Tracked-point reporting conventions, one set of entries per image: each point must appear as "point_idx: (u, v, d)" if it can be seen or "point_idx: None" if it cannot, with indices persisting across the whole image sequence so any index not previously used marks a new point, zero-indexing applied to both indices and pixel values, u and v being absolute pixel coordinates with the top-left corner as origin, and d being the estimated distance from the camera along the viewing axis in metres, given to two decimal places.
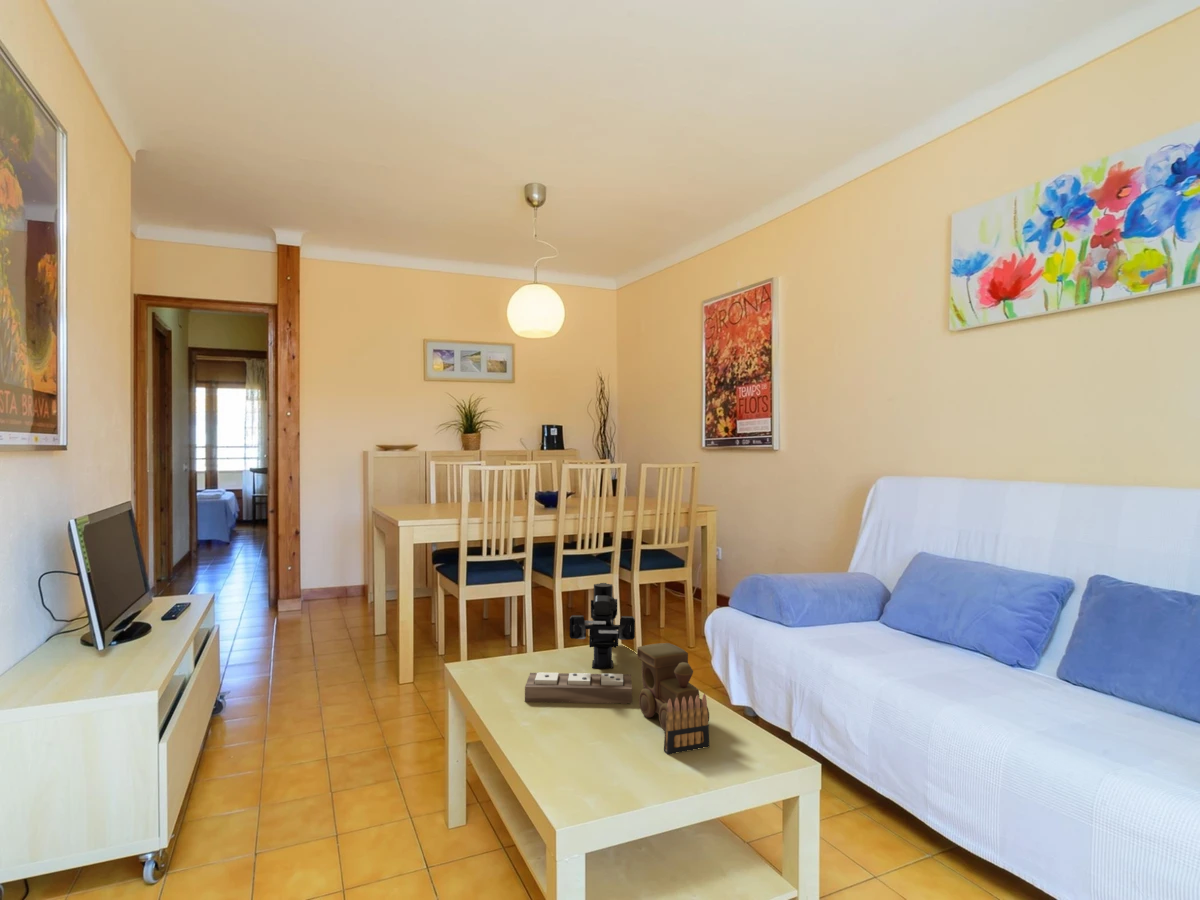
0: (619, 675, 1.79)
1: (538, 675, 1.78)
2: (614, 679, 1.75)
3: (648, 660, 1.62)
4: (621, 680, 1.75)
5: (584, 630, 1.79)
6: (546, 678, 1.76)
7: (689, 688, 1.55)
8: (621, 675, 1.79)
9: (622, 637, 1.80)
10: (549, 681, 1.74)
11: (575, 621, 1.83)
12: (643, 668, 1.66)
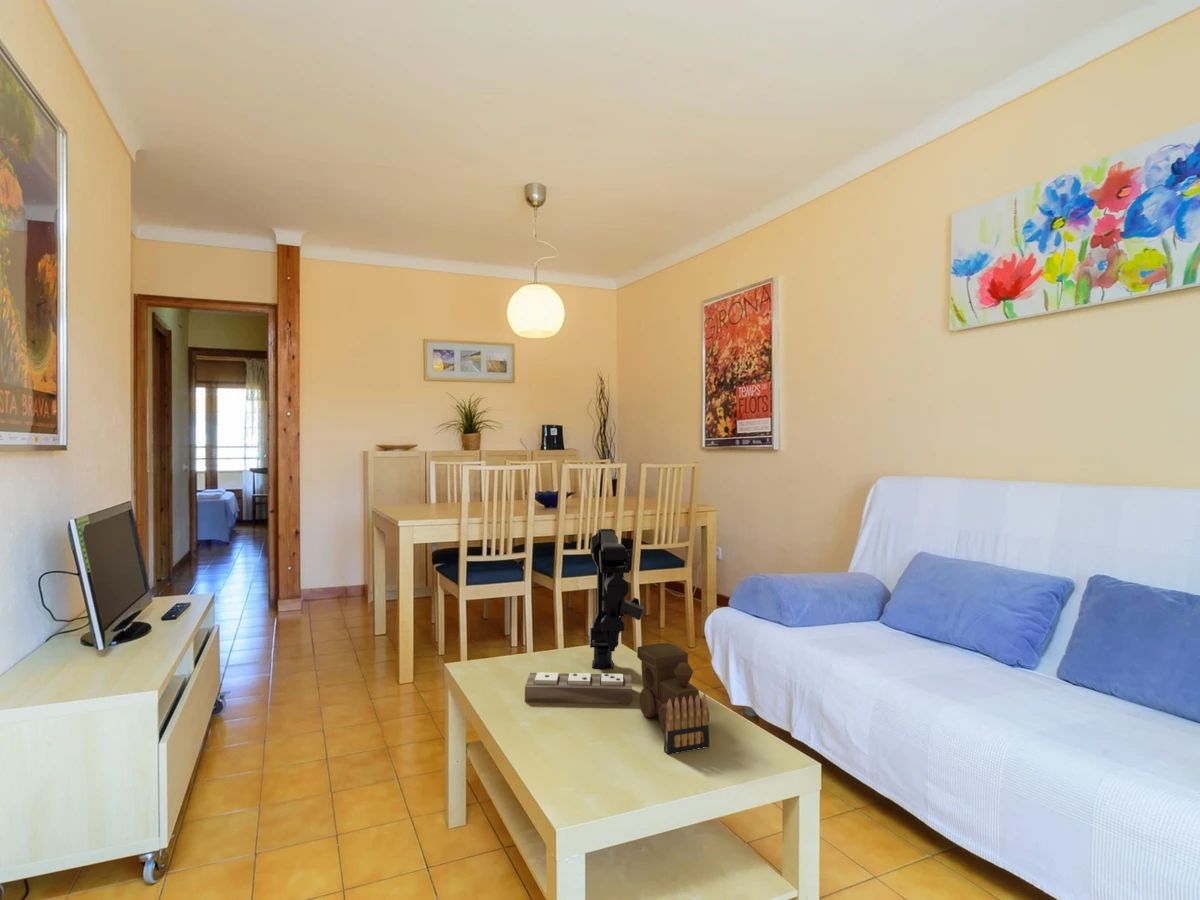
0: (619, 675, 1.79)
1: (538, 675, 1.78)
2: (614, 679, 1.75)
3: (648, 660, 1.62)
4: (621, 680, 1.75)
5: (615, 645, 1.74)
6: (546, 678, 1.76)
7: (689, 688, 1.55)
8: (621, 675, 1.79)
9: None
10: (549, 681, 1.74)
11: None
12: (643, 668, 1.66)
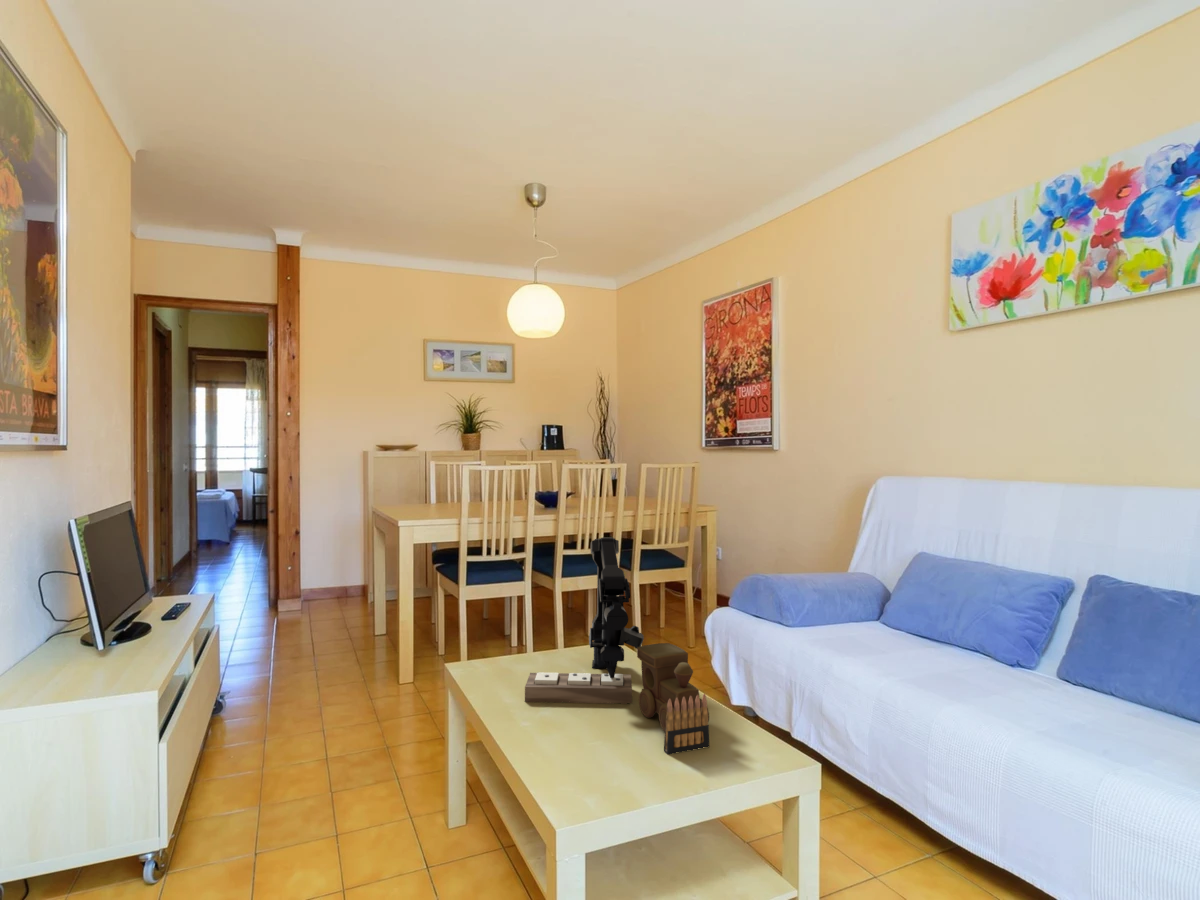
0: (619, 675, 1.79)
1: (538, 675, 1.78)
2: (614, 679, 1.75)
3: (648, 660, 1.62)
4: (621, 680, 1.75)
5: None
6: (546, 678, 1.76)
7: (689, 688, 1.55)
8: (621, 675, 1.79)
9: None
10: (549, 681, 1.74)
11: None
12: (643, 668, 1.66)
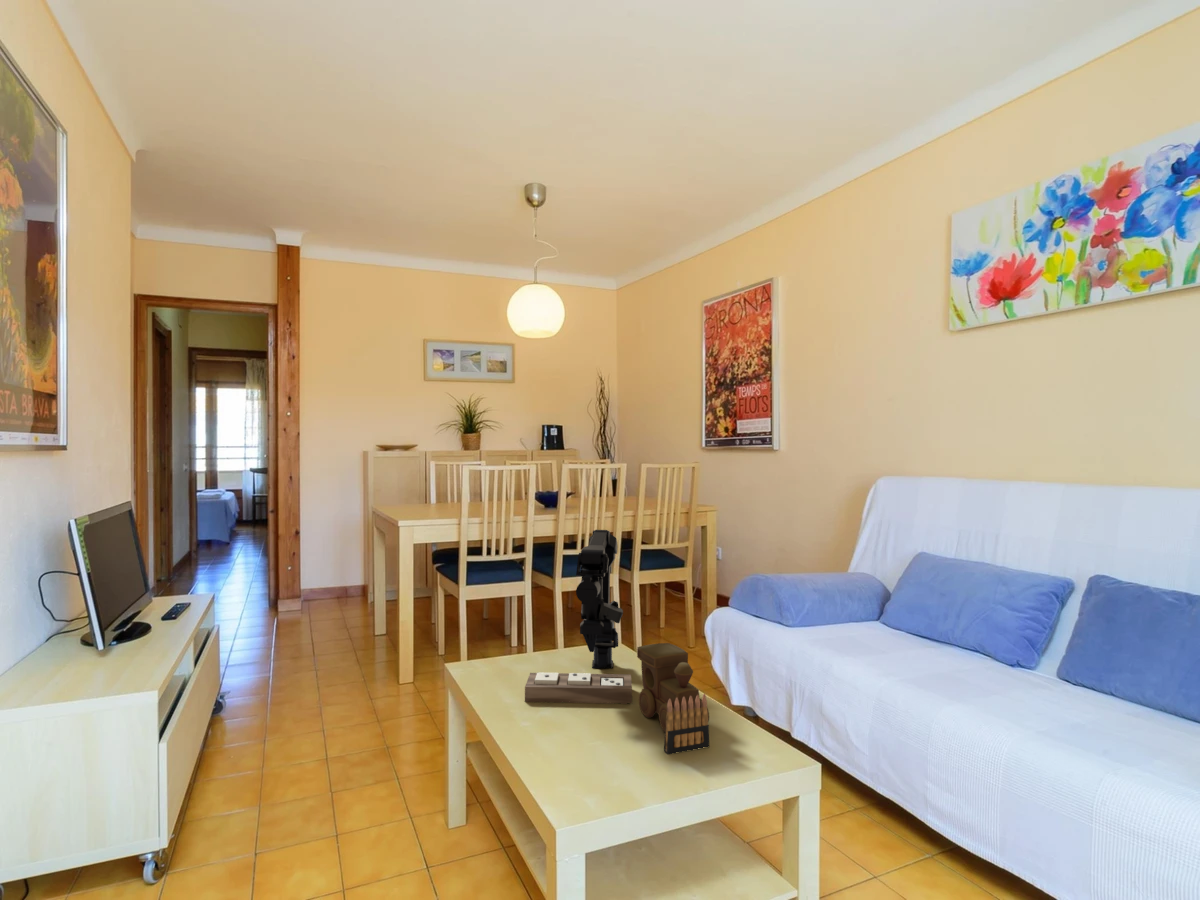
0: (619, 679, 1.79)
1: (538, 675, 1.78)
2: (614, 684, 1.75)
3: (648, 660, 1.62)
4: (621, 685, 1.75)
5: (594, 645, 1.77)
6: (546, 678, 1.76)
7: (689, 688, 1.55)
8: (621, 679, 1.79)
9: None
10: (549, 681, 1.74)
11: None
12: (643, 668, 1.66)
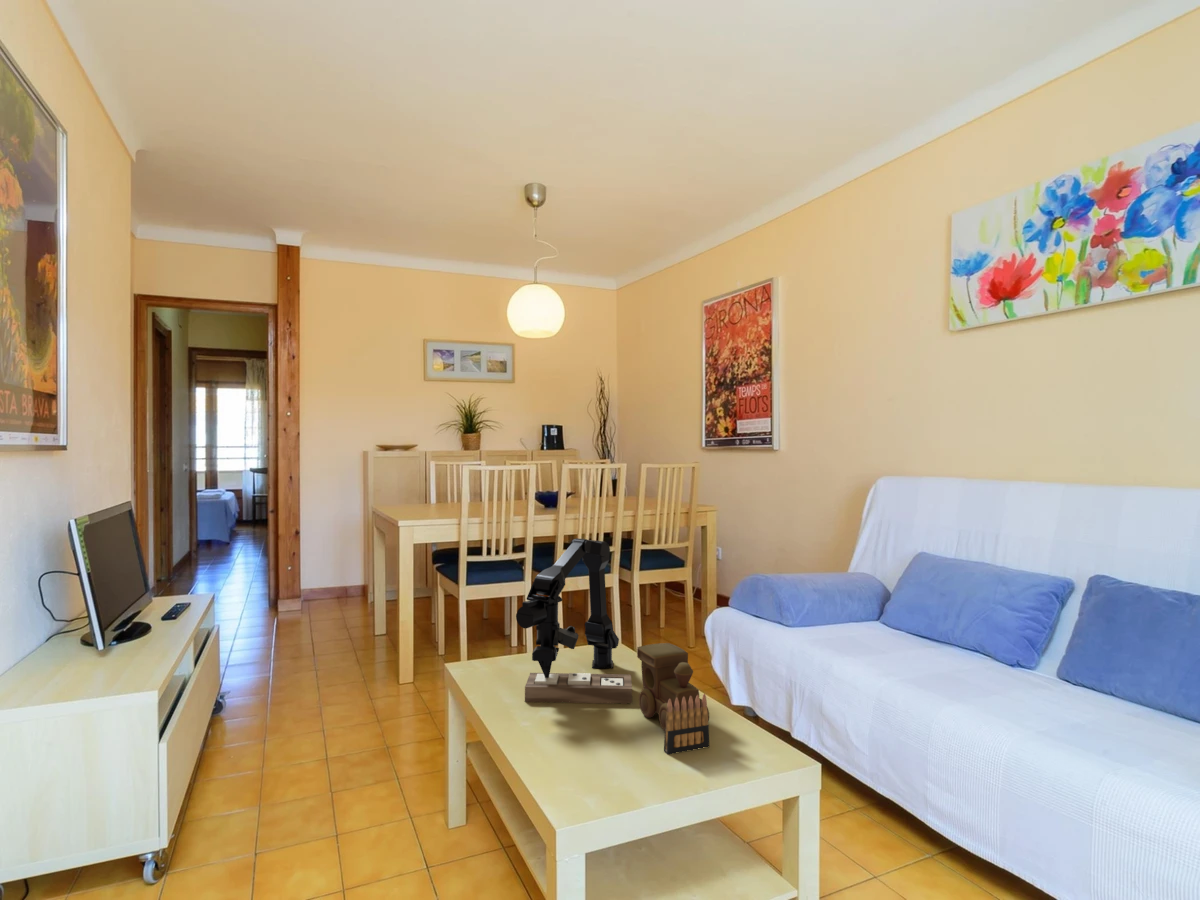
0: (619, 679, 1.79)
1: (538, 676, 1.78)
2: (614, 684, 1.75)
3: (648, 660, 1.62)
4: (621, 685, 1.75)
5: None
6: (546, 679, 1.76)
7: (689, 688, 1.55)
8: (621, 679, 1.79)
9: None
10: (549, 682, 1.74)
11: None
12: (643, 668, 1.66)
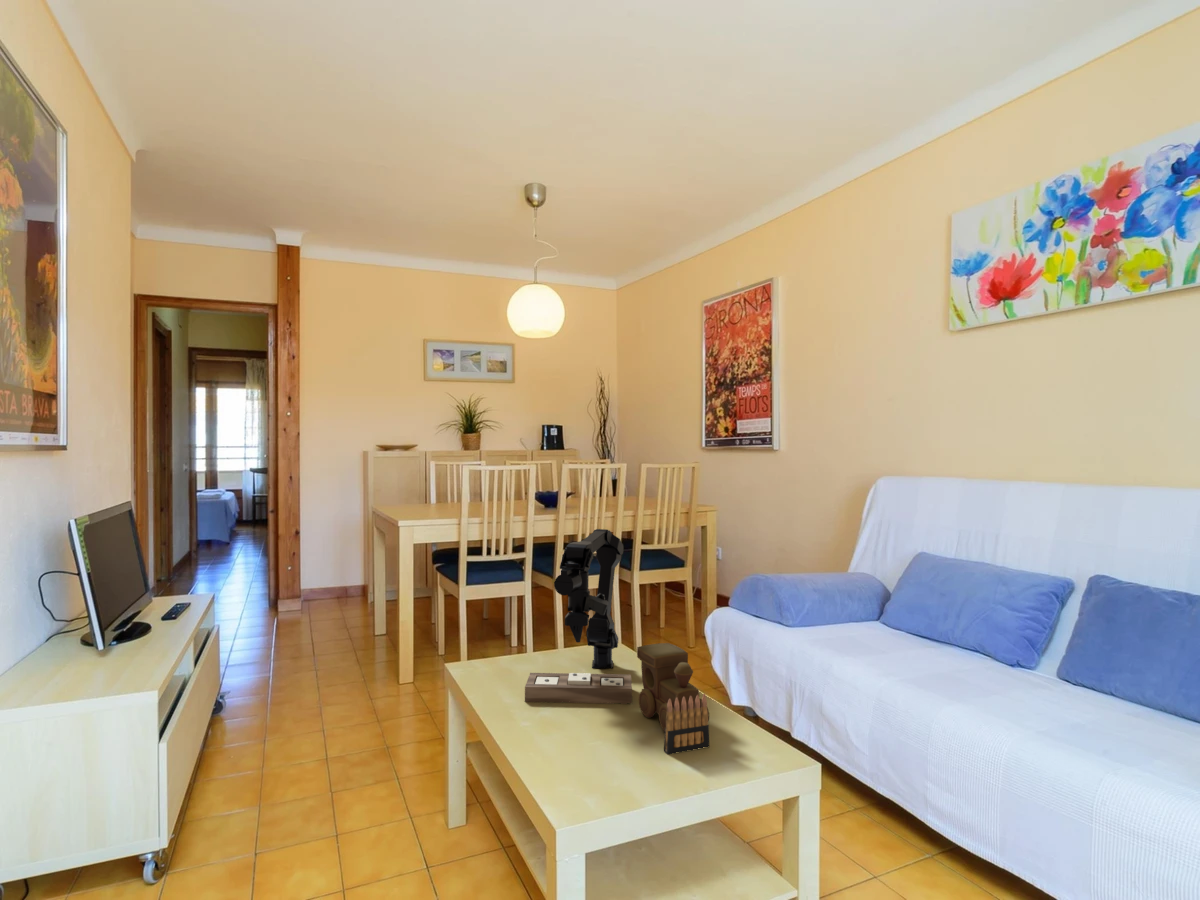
0: (619, 679, 1.79)
1: (538, 679, 1.78)
2: (614, 684, 1.75)
3: (648, 660, 1.62)
4: (621, 685, 1.75)
5: None
6: (546, 683, 1.76)
7: (689, 688, 1.55)
8: (621, 679, 1.79)
9: None
10: None
11: None
12: (643, 668, 1.66)
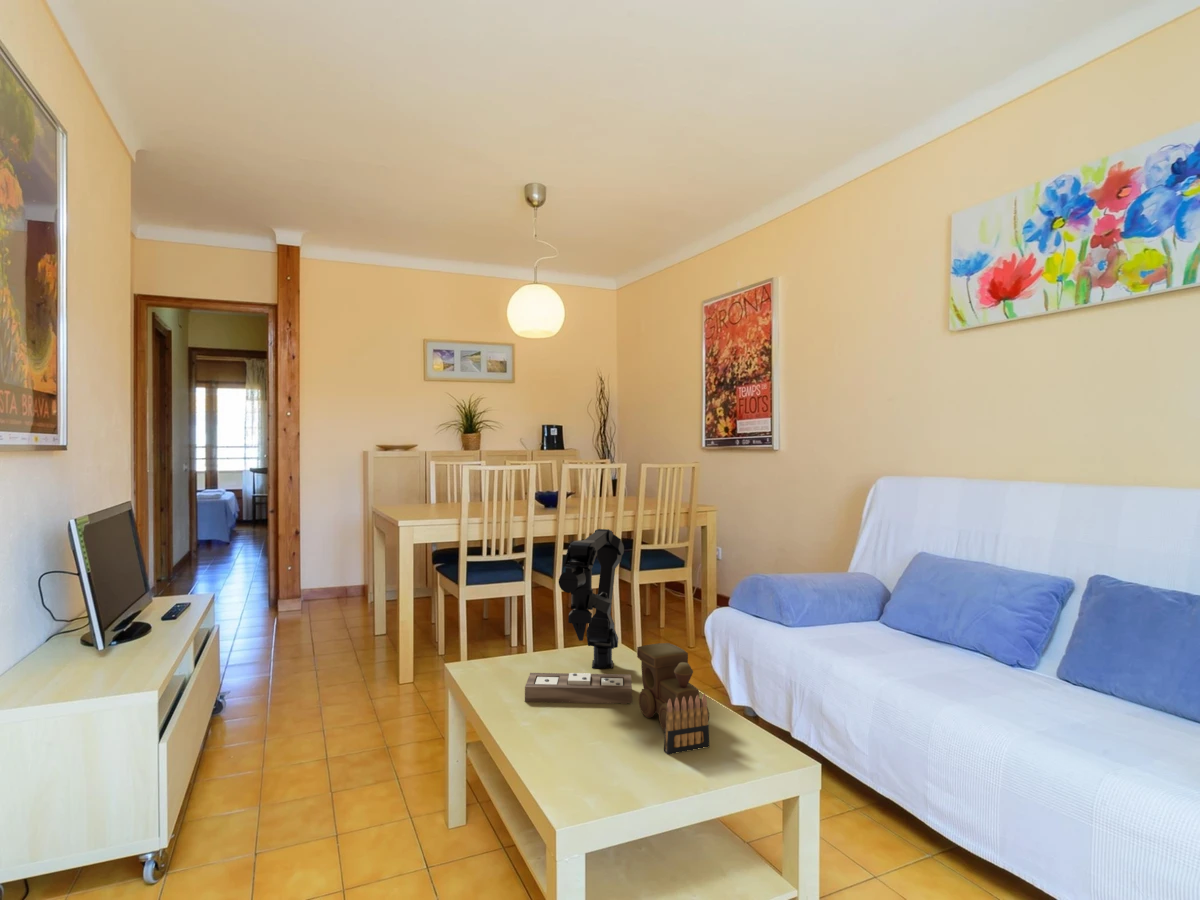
0: (619, 679, 1.79)
1: (538, 679, 1.78)
2: (614, 684, 1.75)
3: (648, 660, 1.62)
4: (621, 685, 1.75)
5: None
6: (546, 683, 1.76)
7: (689, 688, 1.55)
8: (621, 679, 1.79)
9: None
10: None
11: None
12: (643, 668, 1.66)
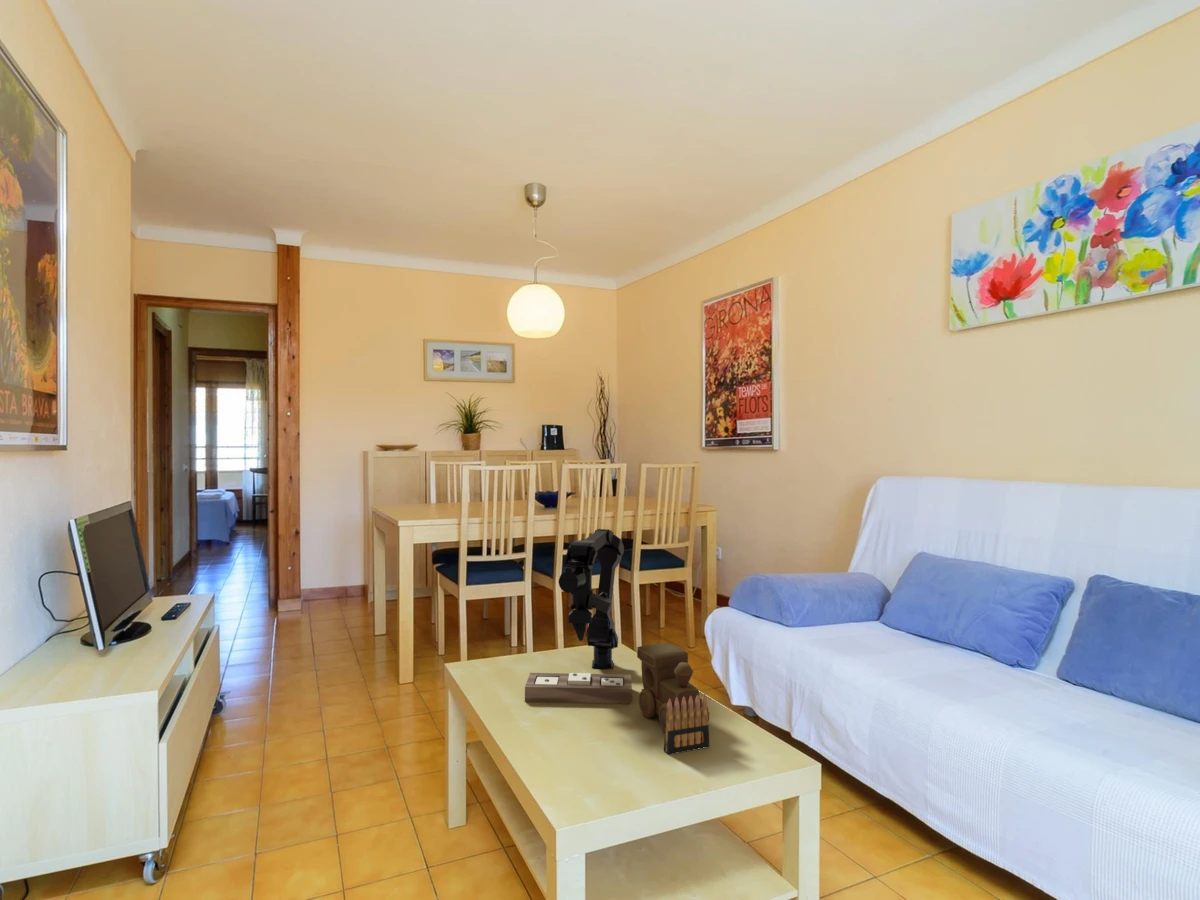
0: (619, 679, 1.79)
1: (538, 679, 1.78)
2: (614, 684, 1.75)
3: (648, 660, 1.62)
4: (621, 685, 1.75)
5: None
6: (546, 683, 1.76)
7: (689, 688, 1.55)
8: (621, 679, 1.79)
9: None
10: None
11: None
12: (643, 668, 1.66)
